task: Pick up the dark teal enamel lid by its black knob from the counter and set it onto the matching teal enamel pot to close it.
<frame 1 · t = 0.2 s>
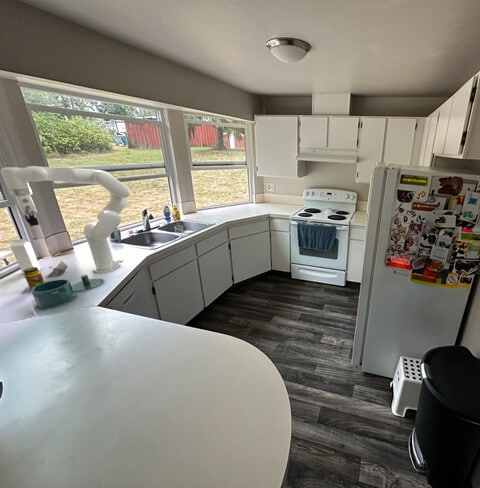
hand: (33, 223, 136), 37 cm above the table, tool pointing down, fingers open, 9 cm apart
pot: (57, 301, 131), on the table
lid: (87, 285, 146), point 1 cm above the table
milk: (32, 271, 161), on the table
paper boat: (59, 273, 160), on the table
condiment: (36, 288, 143), on the table
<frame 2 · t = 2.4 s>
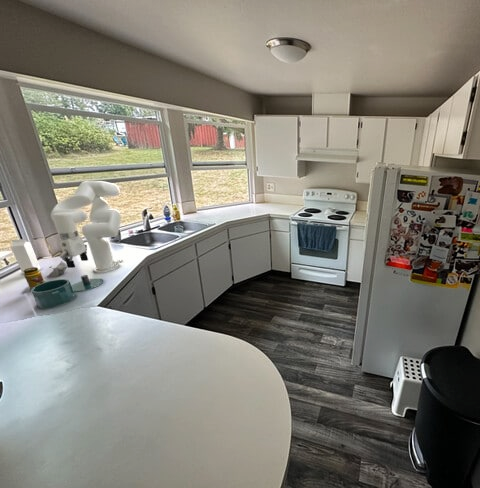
hand: (78, 263, 141), 14 cm above the table, tool pointing down, fingers open, 9 cm apart
nothing on the table moved.
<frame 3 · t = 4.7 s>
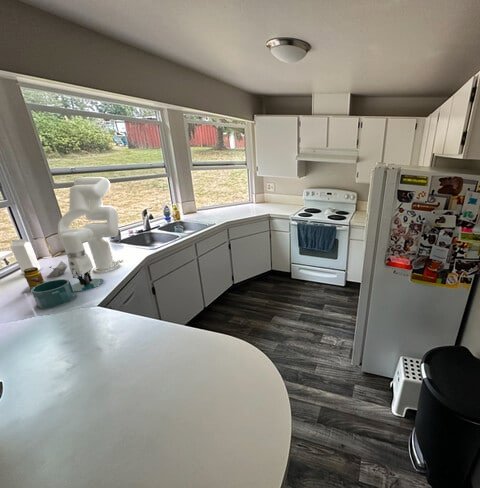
hand: (86, 282, 145), 2 cm above the table, tool pointing down, fingers closed on lid, 3 cm apart
lid: (87, 285, 146), point 1 cm above the table, touching gripper
everything else where it was.
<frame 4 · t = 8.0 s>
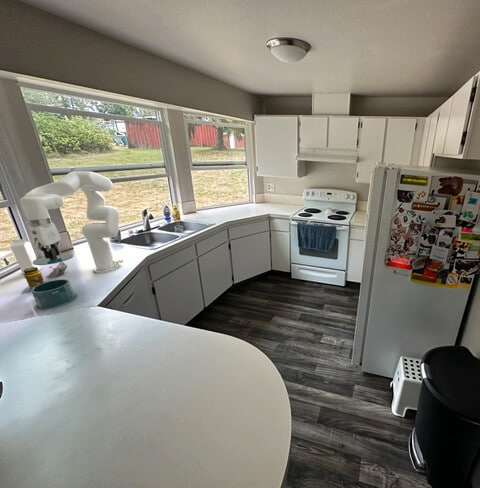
hand: (52, 256, 128), 24 cm above the table, tool pointing down, fingers closed on lid, 3 cm apart
lid: (54, 259, 128), point 22 cm above the table, touching gripper
everything else where it was.
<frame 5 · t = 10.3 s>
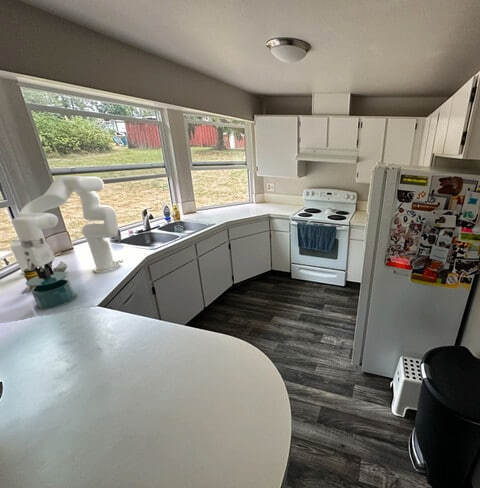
hand: (46, 276, 126), 15 cm above the table, tool pointing down, fingers closed on lid, 3 cm apart
lid: (47, 279, 126), point 13 cm above the table, touching gripper
everything else where it was.
when the fingers open (11 cm above the table, at t = 11.6 s): lid stays where it is, resting on pot.
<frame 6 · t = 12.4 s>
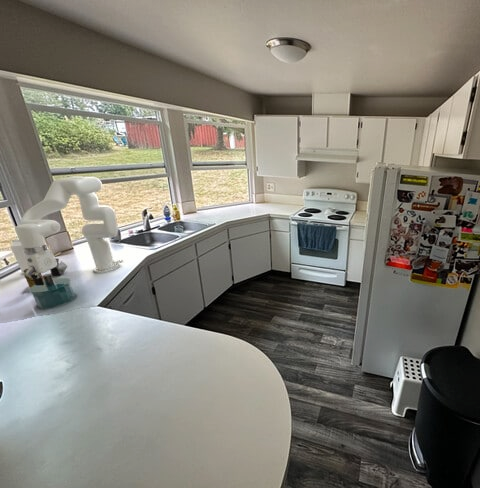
hand: (48, 280, 127), 12 cm above the table, tool pointing down, fingers open, 9 cm apart
lid: (50, 285, 128), point 9 cm above the table, touching pot
everything else where it was.
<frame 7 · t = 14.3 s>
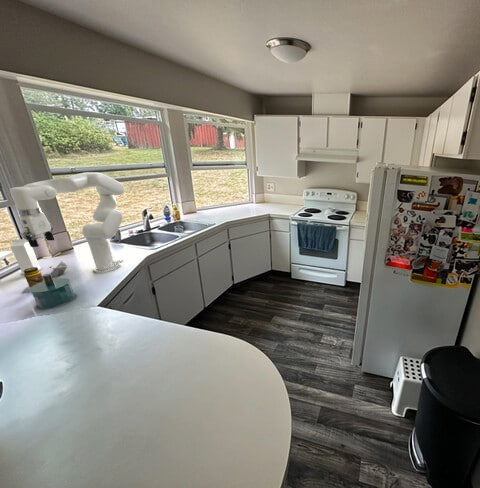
hand: (43, 243, 132), 28 cm above the table, tool pointing down, fingers open, 9 cm apart
nothing on the table moved.
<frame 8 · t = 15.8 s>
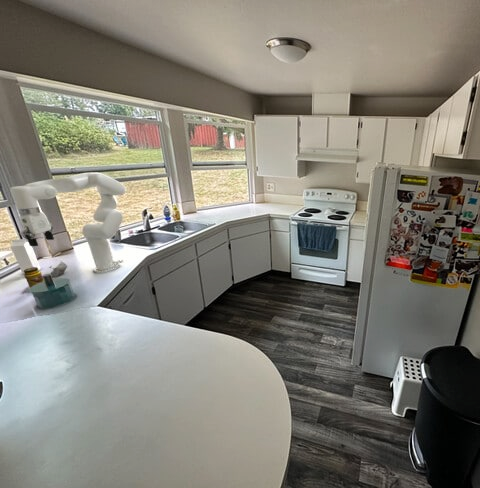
hand: (42, 242, 132), 28 cm above the table, tool pointing down, fingers open, 9 cm apart
nothing on the table moved.
at the end: lid 0.1 cm off-centre on the pot, point 9.5 cm above the pot's base; lid tilted 0° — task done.
